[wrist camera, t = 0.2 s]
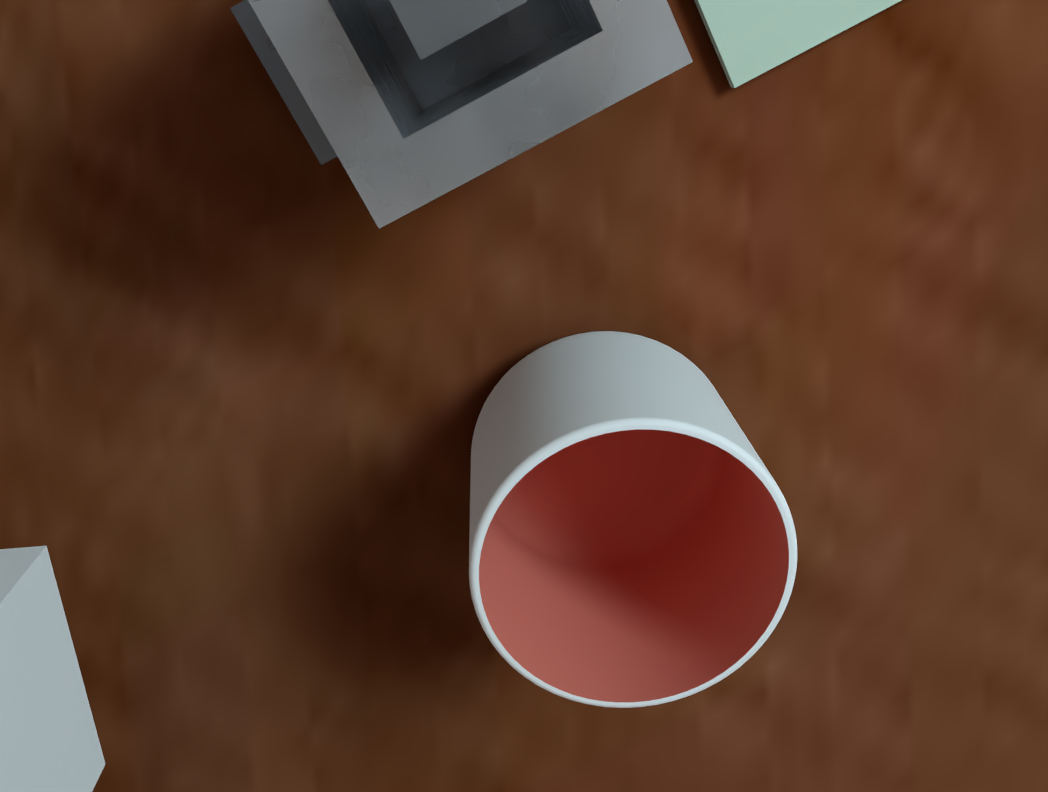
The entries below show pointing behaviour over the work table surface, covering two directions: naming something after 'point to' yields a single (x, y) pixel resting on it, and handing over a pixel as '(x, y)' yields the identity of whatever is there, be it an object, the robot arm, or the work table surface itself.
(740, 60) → the mat
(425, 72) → the grey block
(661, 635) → the cup
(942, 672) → the work table surface
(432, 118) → the collar
